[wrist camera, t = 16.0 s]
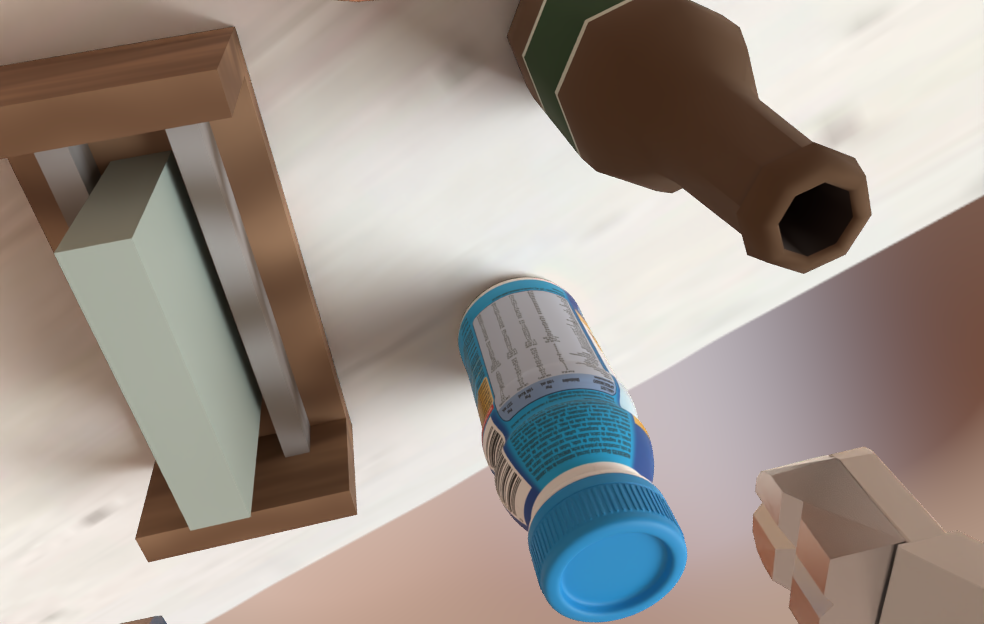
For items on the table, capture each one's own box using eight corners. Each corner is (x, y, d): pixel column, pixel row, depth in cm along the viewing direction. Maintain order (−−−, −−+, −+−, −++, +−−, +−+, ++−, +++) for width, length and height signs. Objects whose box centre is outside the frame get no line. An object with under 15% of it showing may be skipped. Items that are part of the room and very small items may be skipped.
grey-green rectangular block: (110, 161, 39) (54, 253, 30) (171, 149, 39) (132, 238, 31) (212, 406, 47) (190, 530, 39) (262, 396, 48) (250, 517, 39)
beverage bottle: (518, 246, 47) (627, 475, 31) (606, 317, 51) (745, 553, 35) (426, 339, 50) (482, 599, 33) (518, 400, 54) (609, 659, 37)
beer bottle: (502, -48, 38) (703, 89, 18) (652, -54, 40) (994, 68, 20) (503, 108, 43) (667, 357, 23) (639, 98, 44) (909, 327, 24)
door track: (-21, 69, 37) (-96, 123, 30) (234, 26, 38) (217, 69, 31) (170, 465, 51) (148, 562, 44) (352, 426, 52) (357, 514, 45)
